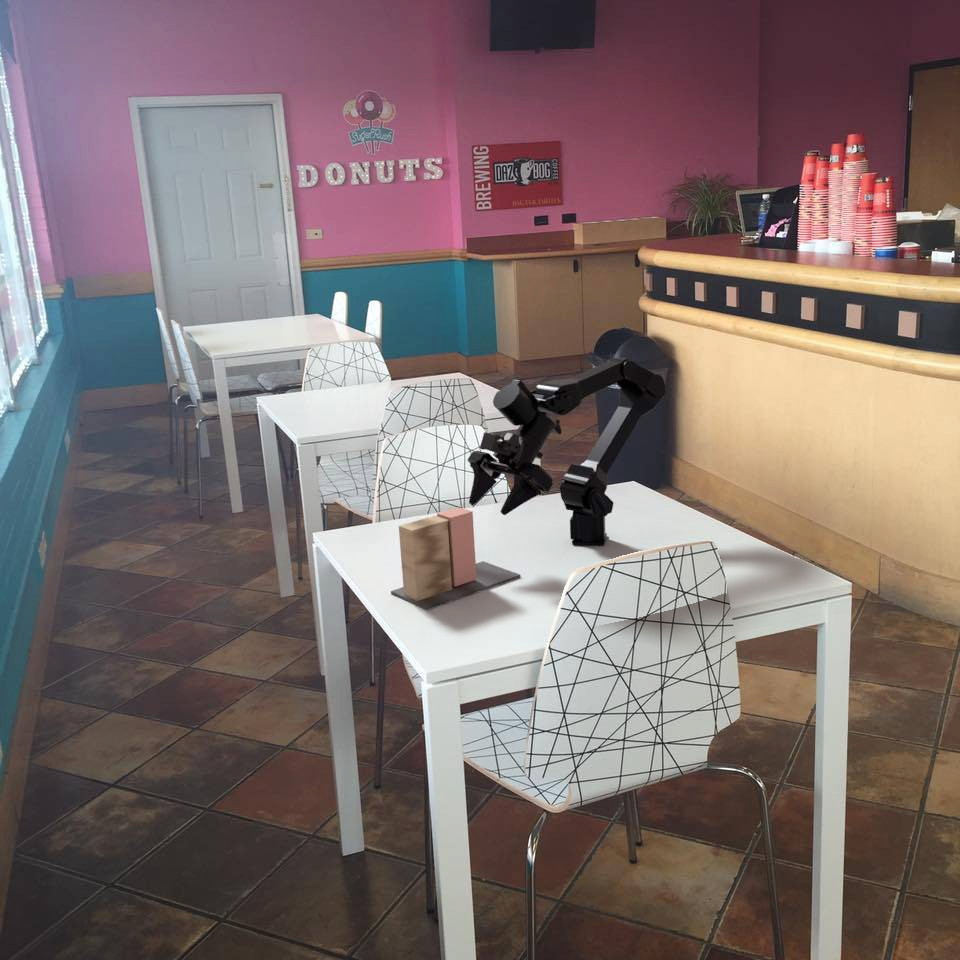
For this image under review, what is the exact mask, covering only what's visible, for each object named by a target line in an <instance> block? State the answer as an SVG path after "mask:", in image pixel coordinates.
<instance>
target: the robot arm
mask: <svg viewBox="0 0 960 960" xmlns="http://www.w3.org/2000/svg"><path fill="white" fill-rule="evenodd" d="M613 385H616V386H617V387H619V388H620V389H619V391H618V393H619V394H618V395H619V397H618V398H619V399H618V400H619V404H618V406H617V408H616V410H615V412H614V413H613V415H612V416H611V418H610V420H609V422H607V425H606V427H605V428H604V429H603V431H602V433H601V435H600V436H599V438H598V440H597V442H596V443H595V445H594V447H593V448H592V450H591V451H590V453H589V455H588V457H587V458H586V459H585V461H584V462H582V463H581V464H578V463H571V464H570V466H569V467H568V469H567V471H566V473H565V474H564V476H563V477H562V478H561V481H562V482H561V484H560V486H559V492H560V498H561V501H562V502H563V503H564V504H563V505H564V507H565V510H567V511H572V516H571V517H570V519H569V529H570V532H569V533H570V540H572V541H571V544H572V545H573V546H578V545H579V546H592V545H593V546H604V545H605V544H606V540H607V534H608V533H607V532H606V517H607V516H608V515H609V514H611V513H613V508H614V501H613V500H612V499H610V496H608V495H607V494H606V491H607V488H608V479H607V478H608V472H609V470H610V469H611V468H612V466H613V464H614V462H615V461H616V459H617V457H618V456H619V454H620V453H621V450H622V449H623V447H624V446H625V444H626V442H627V441H628V439H629V437H630V436H631V434H632V433H633V430H634V429H635V427H636V426H637V425H638V422H639V421H640V419H641V417H643V416H644V415H645V414H647V413H649V412H651V411H652V410H653V409H655V408H656V407H657V405H659V403H660V402H661V400H662V399H663V398H664V395H665V393H666V383H665V380H664V378H663V377H662V376H661V375H660V374H658V373H654V372H652V371H651V370H648V369H646V368H644V367H642V366H640V365H638V364H637V363H635V362H634V361H633V360H631V359H630V358H625V357H616V356H615V357H612V358H610V359H608V360H607V361H606V362H602V363H601V364H598V365H597V366H594V367H592V368H590V369H588V370H585V371H582V372H581V373H579V374H577V375H574V376H572V377H569V378H563V379H553V380H547V381H543V382H540V383H539V384H538V385H536V388H535V389H533V390H529V389H528V387H527V386H526V384H525V383H524V382H523V381H522V380H520V379H519V380H518V379H512V381H511V383H509V384H507V385H505V386H503V387H502V388H500V389H499V390H498V391H497V392H496V393H495V395H494V396H493V400H492V403H493V407H495V409H497V411H498V412H499V413H500V414H501V415H502V416H503V417H504V418H506V420H507V421H508V422H509V423H510V424H511V425H512V426H515V427H518V428H517V430H516V431H515V433H512V432H507V433H505V434H504V435H499V434H496V433H495V434H494V433H489V432H484V431H483V436H482V439H481V443H480V446H479V449H480V450H475V451H472V452H471V454H470V455H469V457H468V458H467V460H466V461H467V462H468V463H469V467H470V468H471V470H472V471H473V482H472V486H471V491H470V496H469V500H468V503H469V504H470V505H471V506H475V505H476V504H477V503H479V501H480V500H481V499H482V498H483V497H484V496H485V495H486V494H487V493H488V492H489V491H490V490H491V489H492V488H493V487H494V486H495V485H496V484H497V482H498V481H497V480H496V479H498V478H500V476H501V475H506V476H509V477H513V486H512V488H511V490H510V492H509V493H508V495H507V497H506V499H505V501H504V503H503V505H502V507H501V509H500V514H502V515H503V516H506V515H508V514H509V513H511V512H513V511H514V510H515V509H517V508H518V507H520V506H521V505H523V504H524V503H527V502H528V501H530V500H532V499H534V498H536V497H538V496H542V494H543V493H545V494H548V493H549V492H550V490H551V488H552V487H553V477H552V476H551V475H550V474H549V473H548V472H547V471H546V470H545V469H544V468H543V466H541V465H539V464H536V463H534V461H535V460H536V459H542V457H543V455H544V454H543V453H542V452H541V450H542V448H543V447H544V445H545V443H546V442H547V440H548V438H549V436H550V435H551V434H556V435H562V433H563V432H562V427H561V424H560V420H559V419H556V418H553V417H552V416H550V415H549V414H554V415H559V416H566V415H569V414H570V413H571V412H573V411H574V410H575V409H578V407H579V406H580V405H581V403H582V402H583V400H584V399H585V398H587V397H589V396H591V395H593V394H596V393H597V392H598V393H599V391H601V390H602V391H603V389H606V388H609V387H610V386H613ZM481 450H487V451H490V452H492V453H493V454H490V453H489V452H485V451H481ZM493 456H494V457H493ZM497 460H498V461H497Z"/></svg>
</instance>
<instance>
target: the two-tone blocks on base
mask: <svg viewBox="0 0 960 960" xmlns="http://www.w3.org/2000/svg"><path fill="white" fill-rule="evenodd" d="M398 534H399V546H400V557H401V558H400V559H401V562H400V563H401V572H402V573H401V574H402V587H399V588H396V589H393V590H391V591H390V594H391V595H393V596H395V597H397V598H399V599H402V600H405V601H406V602H409V603H411V604H413V605H415V606H417V607H420V608H422V609H424V610H426V611H428V610H430V609H433V608H437V607H439V606H442V605H445V604H447V603H451V602H453V601H456V600H460V599H462V598H465V597H467V596H470V595H471V596H472V595H473V594H476V593H480V592H482V591H486V590H488V589H490V588H494V587H497V586H500V585H502V584H506V583H509V582H511V581H514V580H518V579H520V578H521V577H522V576H521V574H519V573H516V572H514V571H511V570H508V569H505V568H504V567H501V566H497V565H495V564H492V563H489V562H487V561H479V562H476V578H477V579H476V580H473V581H470V582H467V583H465V584H462V585H459V586H456V587H454V586H453V575H452V559H451V544H450V529H449V520H447V519H444V518H441V517H438V516H437V515H433V516H428V517H425V518H422V519H417V520H415V521H411V522H407V523H405V524H401V525H398Z"/></svg>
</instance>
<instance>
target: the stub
mask: <svg viewBox="0 0 960 960" xmlns="http://www.w3.org/2000/svg"><path fill="white" fill-rule="evenodd" d="M436 516H438V517H441V518H444V519H447V520H449V529H450V544H451V559H452V575H453V586H454V587H456V586H459V585H462V584H465V583H467V582H470V581H473V580H476V579H477V578H476V563H477V561H476V550H475V549H476V547H475V529H474V514H473V511H471V510H468V509H467V508H463V507H455V508H452V509H447V510H444V511H441V512H438V513H436Z"/></svg>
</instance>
